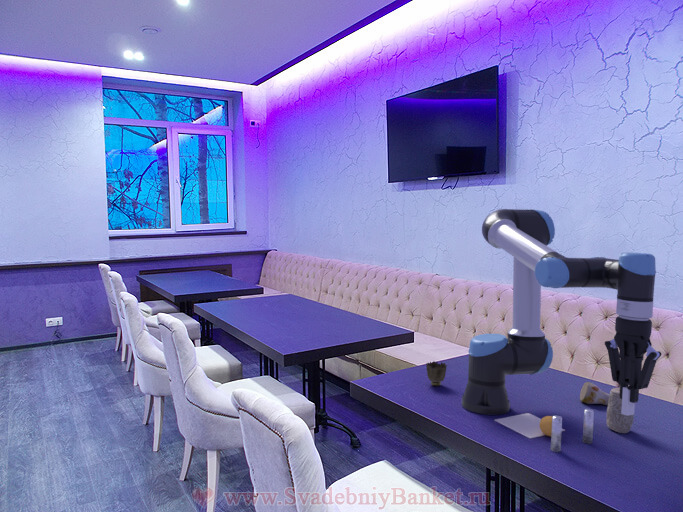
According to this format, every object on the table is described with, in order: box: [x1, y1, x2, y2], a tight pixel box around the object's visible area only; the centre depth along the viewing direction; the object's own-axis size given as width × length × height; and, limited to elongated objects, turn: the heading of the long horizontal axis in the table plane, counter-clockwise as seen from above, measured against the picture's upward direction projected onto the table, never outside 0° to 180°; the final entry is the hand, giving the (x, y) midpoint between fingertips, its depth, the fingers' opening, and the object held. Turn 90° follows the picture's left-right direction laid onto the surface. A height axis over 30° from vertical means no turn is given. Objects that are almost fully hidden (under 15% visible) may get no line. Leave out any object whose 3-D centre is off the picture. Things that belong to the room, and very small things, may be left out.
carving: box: [605, 387, 635, 434], centre depth 146 cm, size 6×8×12 cm
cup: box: [425, 360, 448, 387], centre depth 183 cm, size 8×7×8 cm
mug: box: [579, 381, 610, 407], centre depth 168 cm, size 8×10×10 cm
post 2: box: [582, 408, 595, 445], centre depth 137 cm, size 2×2×9 cm
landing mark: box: [494, 412, 566, 440], centre depth 148 cm, size 14×14×1 cm
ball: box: [540, 415, 553, 437], centre depth 141 cm, size 6×6×6 cm
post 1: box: [550, 415, 563, 453], centre depth 132 cm, size 2×2×9 cm
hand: (627, 413), depth 120 cm, fingers closed
